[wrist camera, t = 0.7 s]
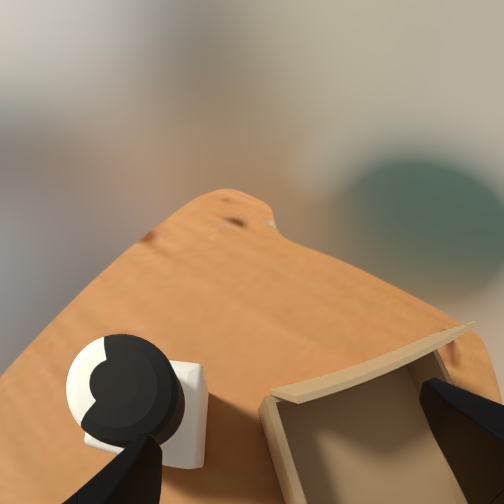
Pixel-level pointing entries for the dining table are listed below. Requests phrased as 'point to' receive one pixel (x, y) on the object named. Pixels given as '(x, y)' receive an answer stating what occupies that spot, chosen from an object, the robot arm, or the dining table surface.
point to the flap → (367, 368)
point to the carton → (362, 443)
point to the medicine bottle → (139, 399)
